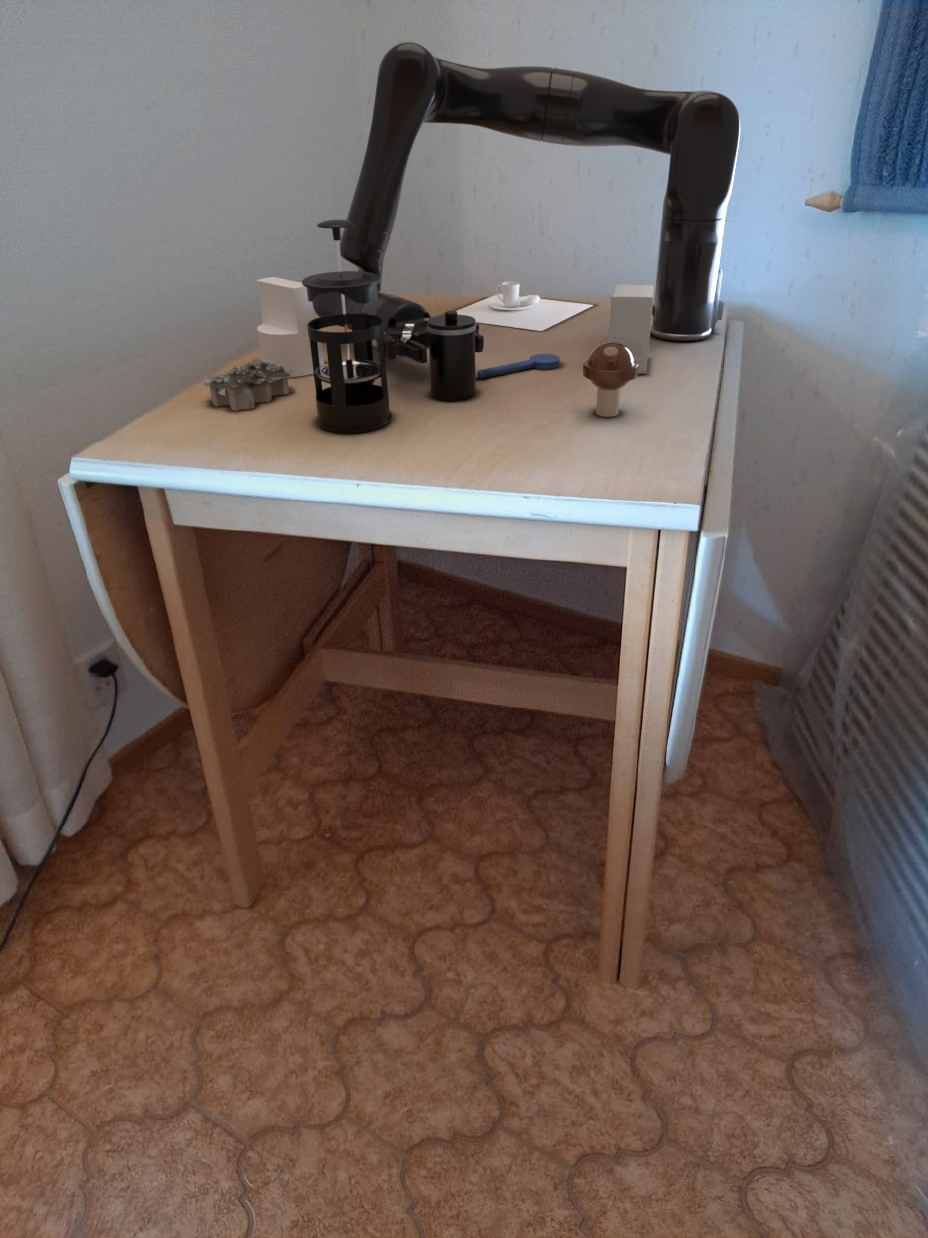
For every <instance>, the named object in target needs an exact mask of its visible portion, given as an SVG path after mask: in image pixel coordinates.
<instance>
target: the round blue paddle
mask: <svg viewBox="0 0 928 1238" xmlns="http://www.w3.org/2000/svg"><path fill="white" fill-rule="evenodd" d="M560 360H561V358H560V357H559V356H558V355H555V354H551V353H538V354H533V355H531V356H529V359H526V360H521V361H517V362H513V363H507V364H503V365H498V366H494V367H489V368H483V369H480V370H478V371H477V372H476V378H478V379H480V380H483V379H488V378H492V377H496V376H502V375H507V374H510V373H511V374H512V373H515V372H520V371H524V370H530V369H536V370H552V369H556V368H559V367H560V364H561V361H560Z"/></svg>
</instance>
